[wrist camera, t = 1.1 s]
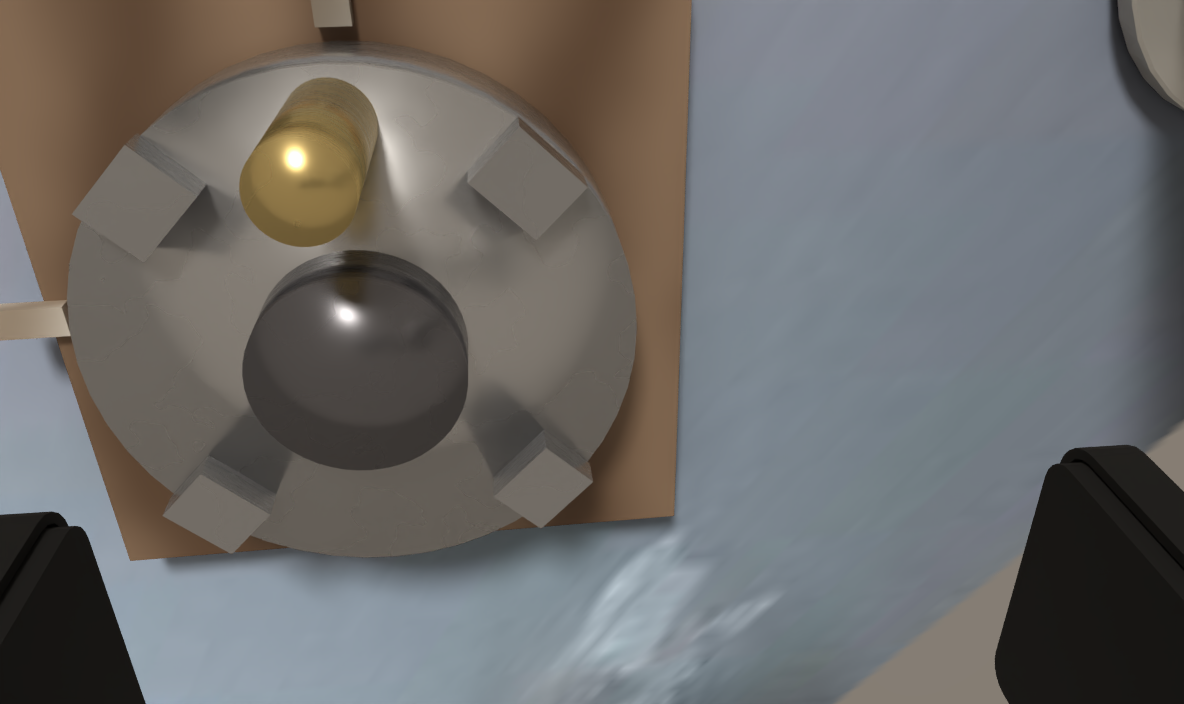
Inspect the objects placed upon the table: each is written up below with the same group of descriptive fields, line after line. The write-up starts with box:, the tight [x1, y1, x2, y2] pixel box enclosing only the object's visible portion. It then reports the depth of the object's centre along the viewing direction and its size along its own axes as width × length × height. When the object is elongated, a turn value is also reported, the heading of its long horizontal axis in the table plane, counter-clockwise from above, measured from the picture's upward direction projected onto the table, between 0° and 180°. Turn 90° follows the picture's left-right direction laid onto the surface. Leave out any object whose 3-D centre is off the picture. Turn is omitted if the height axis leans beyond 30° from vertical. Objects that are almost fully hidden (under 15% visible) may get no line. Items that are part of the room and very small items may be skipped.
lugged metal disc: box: [67, 40, 637, 557], centre depth 27 cm, size 16×16×8 cm
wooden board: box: [0, 0, 692, 561], centre depth 31 cm, size 22×20×2 cm
